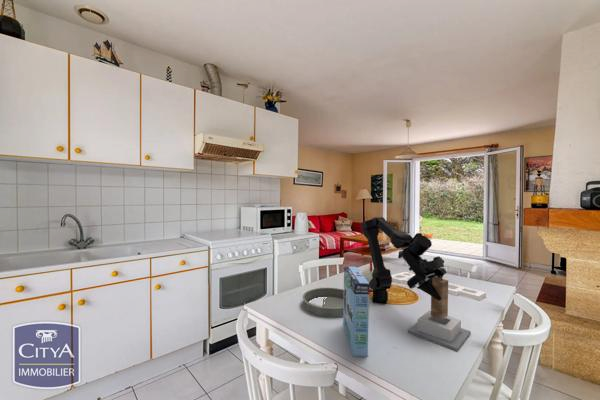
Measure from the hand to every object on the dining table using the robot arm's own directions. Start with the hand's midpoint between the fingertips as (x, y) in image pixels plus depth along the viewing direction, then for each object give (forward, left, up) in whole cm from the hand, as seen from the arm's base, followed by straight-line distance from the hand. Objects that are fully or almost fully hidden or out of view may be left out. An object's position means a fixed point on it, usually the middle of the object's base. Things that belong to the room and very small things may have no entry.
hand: (443, 298), depth 94 cm
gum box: (-30, -12, -13) cm, 35 cm away
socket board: (-1, +1, -13) cm, 13 cm away
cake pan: (-43, +14, -14) cm, 47 cm away
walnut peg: (-1, +1, -7) cm, 7 cm away
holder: (+8, +54, -14) cm, 56 cm away
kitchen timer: (-25, +43, -13) cm, 51 cm away
